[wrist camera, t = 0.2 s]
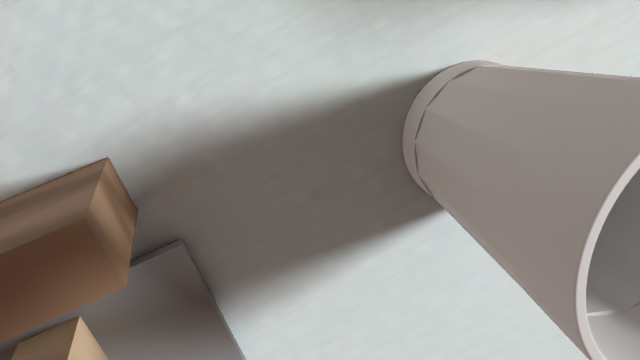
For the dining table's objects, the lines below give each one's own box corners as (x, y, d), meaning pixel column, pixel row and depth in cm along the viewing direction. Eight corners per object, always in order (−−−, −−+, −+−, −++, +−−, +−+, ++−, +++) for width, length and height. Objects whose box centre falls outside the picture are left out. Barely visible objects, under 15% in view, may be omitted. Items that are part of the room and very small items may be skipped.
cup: (408, 244, 25) (594, 441, 14) (362, 78, 22) (552, 164, 11) (560, 180, 26) (844, 318, 15) (536, 13, 23) (870, 33, 12)
